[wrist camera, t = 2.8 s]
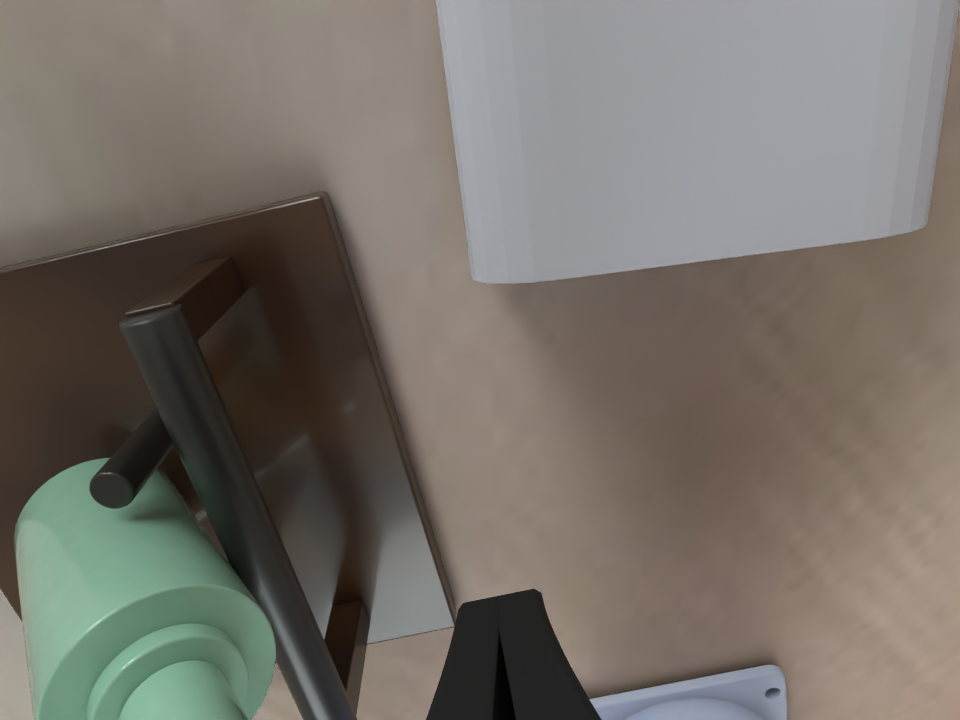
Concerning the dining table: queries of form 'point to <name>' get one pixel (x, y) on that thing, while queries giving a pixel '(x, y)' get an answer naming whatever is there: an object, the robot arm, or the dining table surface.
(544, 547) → the dining table surface
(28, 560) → the bottle
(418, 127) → the dining table surface
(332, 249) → the rack
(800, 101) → the charger
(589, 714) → the robot arm
